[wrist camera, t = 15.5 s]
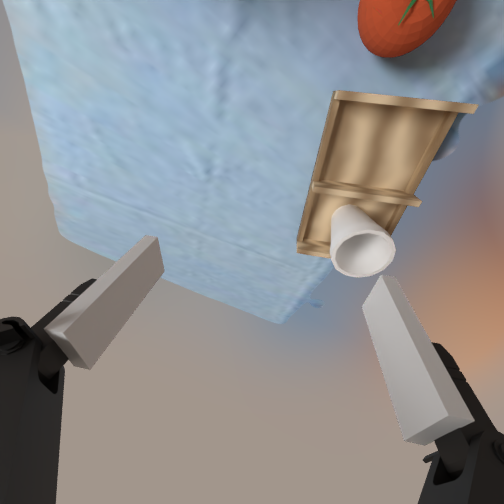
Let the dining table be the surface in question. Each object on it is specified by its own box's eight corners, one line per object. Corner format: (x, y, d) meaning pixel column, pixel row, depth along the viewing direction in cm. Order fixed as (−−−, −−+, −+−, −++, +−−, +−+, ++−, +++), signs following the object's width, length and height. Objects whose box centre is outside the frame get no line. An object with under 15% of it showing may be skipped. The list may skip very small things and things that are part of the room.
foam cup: (314, 221, 47) (319, 257, 36) (347, 187, 42) (365, 218, 31) (346, 245, 49) (360, 285, 38) (382, 215, 44) (409, 252, 33)
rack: (296, 238, 51) (296, 252, 46) (333, 91, 35) (339, 90, 30) (375, 250, 50) (383, 267, 45) (452, 103, 33) (478, 104, 28)
